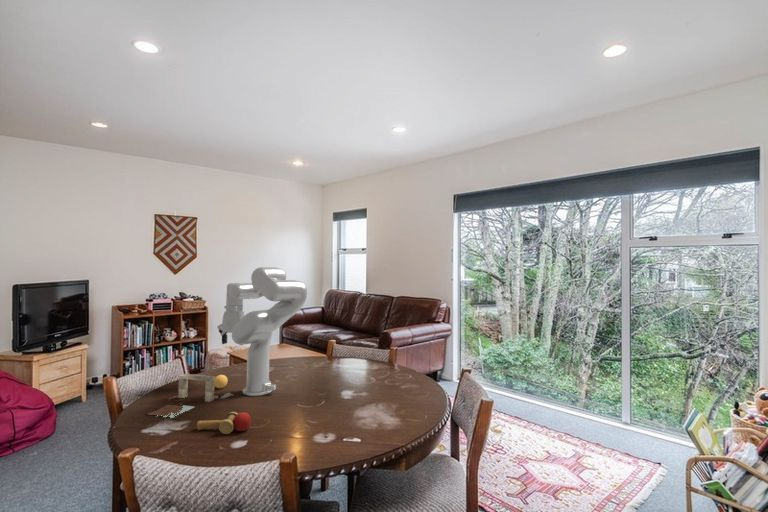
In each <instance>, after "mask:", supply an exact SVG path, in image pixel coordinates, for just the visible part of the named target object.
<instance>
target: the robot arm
mask: <svg viewBox="0 0 768 512" xmlns="http://www.w3.org/2000/svg"><path fill="white" fill-rule="evenodd" d="M250 280H251V282H247V283H246V282H243V283H242V282H241V283H240V282H231V283H228V284H227V285H226V297H225V298H226V304H225V305H224V306H223V308H224V309H225V311H224V312H223V316H222V323H221V324H219V325H217V330H218V333H220V336H221V344H222V345H224V344H227V343H228V333H229V334H231V338H232V341H233V342H234V343H235V344H236V345H239V346H243V345H249V344H250V346H249V347H248V350H247V354H246V355H247V358H246V360H247V361H246V387H244V388H243V389H242V394H243V395H245V396H249V397H252V396H253V397H258V396H264V395H267V394H270V393H271V392H272V391H275V390H277V384H273V383H272V381H271V380H270V355H271V354H270V353H271V352H270V351H271V350H270V349H271V341H272V337H273V332H275V331H277V329H279V328H280V327H281V326H282V325H284V323H286V322H288V320H290V319H291V318H292V317H293V316H294V315H296V314H297V313H298V312H299V311H300V310H301V309H302V308H303V306H304V305H305V302H306V301H307V300H306V299H307V297H308V296H307V295H308V288H307V286H306V284H305V283H304V282H302V281H300V280H296V279H295V280H294V279H293V280H292V279H287V274H286V272H285V271H284V270H283V269H282V268H280V267H272V266H271V267H268V266H267V267H265V266H264V267H263V266H261V267H260V266H259V267H257V268H255V269H254V270H253V271H252V273H251V279H250ZM262 297H264V298H265V299H266V300H269V301H270V302H277V303H275V304H273V306H272V307H270V308H269V309H264V310H263V309H262V310H253V311H250V312H248V313H246V314H245V311H244V308H243V307H244V306H243V305H244V300H253V299H260V298H262Z"/></svg>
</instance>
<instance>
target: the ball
mask: <svg viewBox="0 0 768 512" xmlns="http://www.w3.org/2000/svg"><path fill="white" fill-rule="evenodd" d="M228 381H229V379H228V377H227V376H226V375H224V374H219V375H217V376H215V382H214V388H216V389H223V388H225V387H226V386H227V384H228Z"/></svg>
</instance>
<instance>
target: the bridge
mask: <svg viewBox="0 0 768 512" xmlns="http://www.w3.org/2000/svg"><path fill="white" fill-rule="evenodd" d="M215 377H216V376H213V375H203V374H195V373H194V374H191V373H182V374H179V375H178V392H177V393H178V396H177V399H178V398H184V399H186V398H187V397H188V392H189V391H188V389H189V385H188V384H189V380H192V381H201V382H202V381H203V382H205V388H204V389H205V391H204V392H205V394H204V402H205V403H210V402H213V401H214V400H215V386H214V382H215ZM185 397H186V398H185Z"/></svg>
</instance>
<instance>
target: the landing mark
mask: <svg viewBox="0 0 768 512" xmlns="http://www.w3.org/2000/svg"><path fill="white" fill-rule="evenodd" d="M182 405H183V404H182ZM182 407H183V408H182V410H181V411H180V410H179V411H180V412H179V413H180V415H181V413H182V414H183V412H184V413H186V412H187V411H190V410H191V409H194V408H195V406H193V405H186V404H185V405H183V406H182ZM185 411H186V412H185ZM179 413H178V412H177V415H178V416H179ZM169 414H170V413H169ZM169 414H168V415H169ZM173 414H174V413H172V412H171V415H170V416H169V417H170V418H169V419H173V418H176V417H178V416H177V415H175V414H176V413H175V414H174V415H175V416H176V417H175V416H174V415H173ZM168 415H167V416H168ZM161 416H162V415H161ZM167 416H166V415H165V416H163V417H162V418H166V417H167ZM156 417H158V415H157V416H156Z"/></svg>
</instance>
